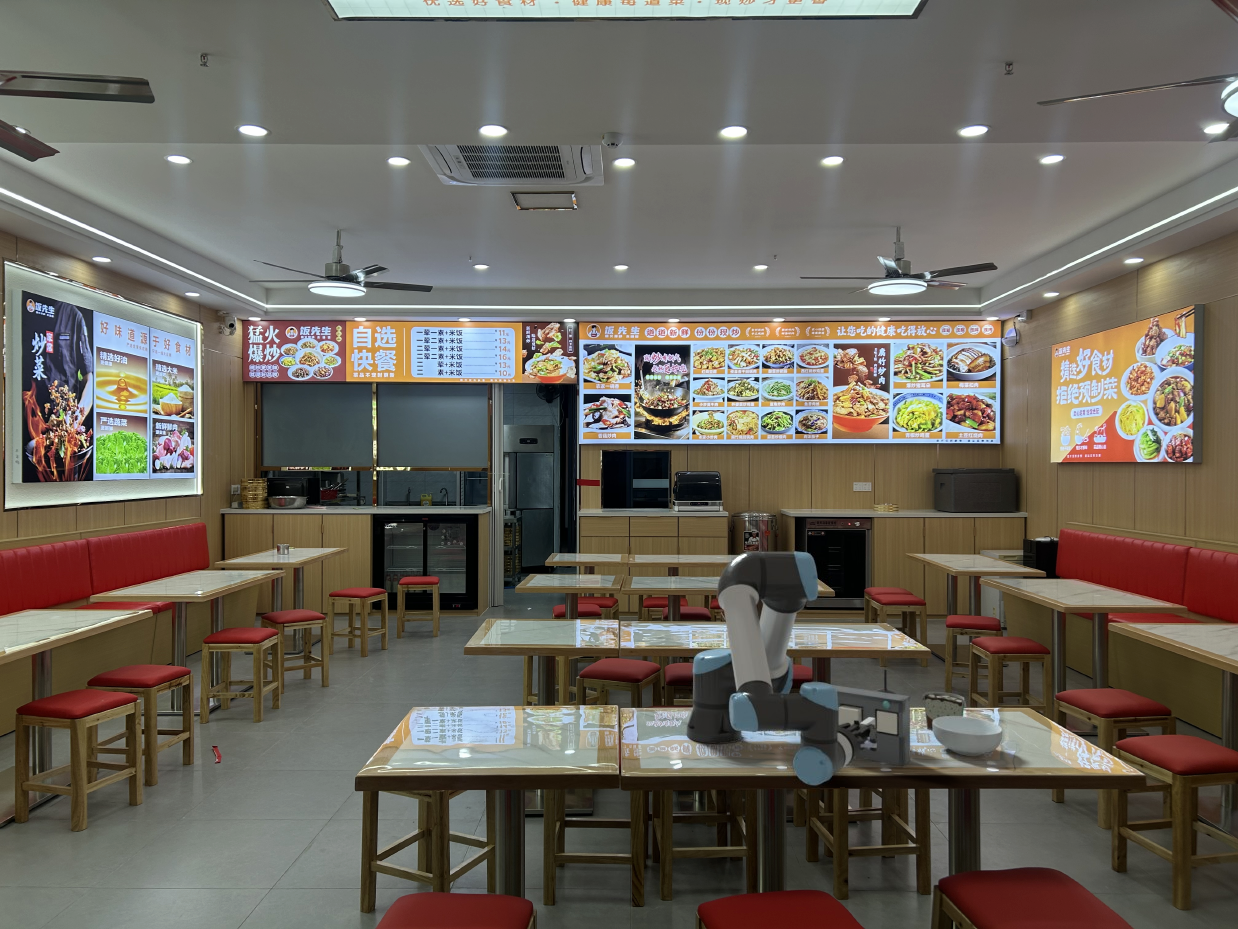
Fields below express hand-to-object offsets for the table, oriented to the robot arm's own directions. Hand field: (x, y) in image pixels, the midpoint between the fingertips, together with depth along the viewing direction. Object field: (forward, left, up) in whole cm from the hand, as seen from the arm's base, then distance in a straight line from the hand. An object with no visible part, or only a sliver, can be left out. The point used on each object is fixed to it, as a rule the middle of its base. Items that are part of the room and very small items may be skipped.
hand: (872, 723), depth 198 cm
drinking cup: (0, +27, -13) cm, 30 cm away
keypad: (-6, +16, -12) cm, 21 cm away
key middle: (-7, +12, -5) cm, 15 cm away
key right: (+2, +13, -5) cm, 15 cm away
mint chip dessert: (+14, +50, -13) cm, 53 cm away
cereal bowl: (+20, +31, -13) cm, 39 cm away
